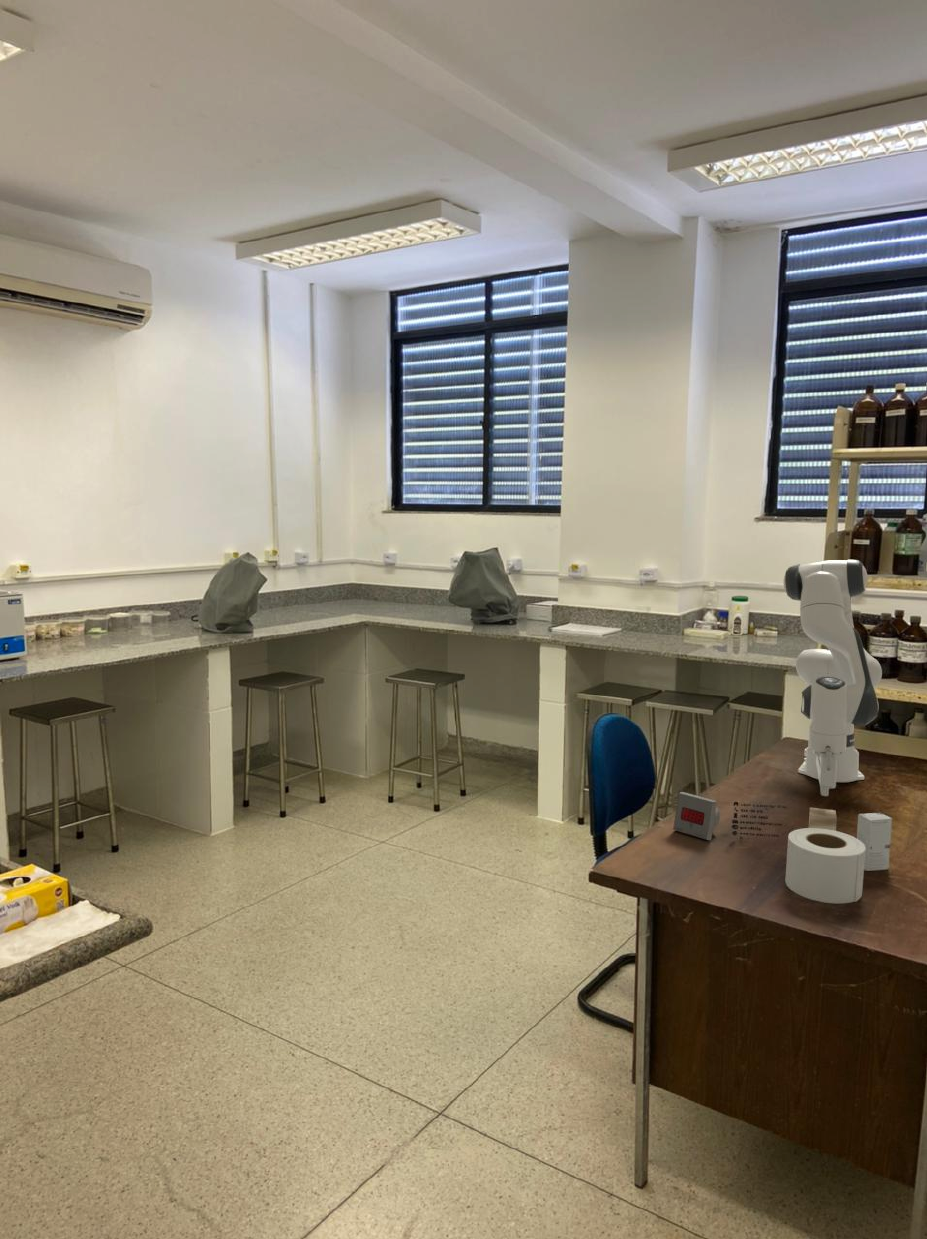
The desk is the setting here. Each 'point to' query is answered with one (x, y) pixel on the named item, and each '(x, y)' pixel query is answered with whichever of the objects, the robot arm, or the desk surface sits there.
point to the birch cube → (822, 819)
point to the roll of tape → (825, 865)
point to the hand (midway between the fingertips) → (824, 794)
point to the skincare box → (875, 839)
